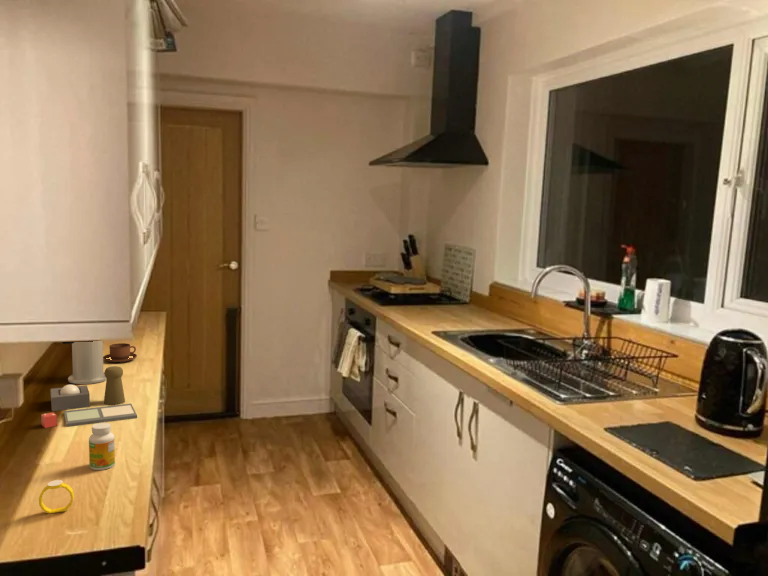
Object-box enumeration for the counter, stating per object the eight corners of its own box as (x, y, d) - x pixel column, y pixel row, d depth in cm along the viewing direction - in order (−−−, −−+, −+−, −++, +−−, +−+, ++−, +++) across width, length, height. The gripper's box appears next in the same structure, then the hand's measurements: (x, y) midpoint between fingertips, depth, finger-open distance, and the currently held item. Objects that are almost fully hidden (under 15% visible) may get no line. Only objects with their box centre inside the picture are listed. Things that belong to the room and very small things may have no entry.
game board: (64, 413, 183) (64, 410, 183) (131, 406, 192) (131, 403, 192) (66, 426, 173) (66, 423, 172) (137, 417, 181) (137, 414, 181)
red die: (41, 425, 173) (41, 414, 173) (53, 422, 175) (53, 411, 175) (45, 428, 171) (44, 416, 171) (57, 425, 173) (56, 414, 173)
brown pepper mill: (117, 406, 191) (116, 370, 190) (99, 404, 193) (98, 368, 191) (129, 400, 197) (128, 365, 196) (111, 398, 198) (110, 363, 197)
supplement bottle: (84, 469, 146) (83, 428, 144) (98, 460, 151) (97, 420, 150) (106, 471, 145) (105, 430, 143) (119, 462, 150) (118, 422, 149)
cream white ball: (59, 400, 193) (59, 383, 192) (79, 398, 195) (78, 381, 195) (60, 405, 188) (59, 388, 187) (80, 403, 191) (80, 386, 190)
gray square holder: (50, 401, 194) (50, 388, 193) (87, 397, 199) (86, 385, 198) (51, 411, 185) (51, 397, 185) (89, 406, 190) (89, 393, 189)
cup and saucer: (121, 356, 254) (121, 340, 254) (143, 359, 249) (143, 344, 248) (96, 362, 244) (95, 346, 243) (118, 366, 238) (118, 350, 238)
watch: (75, 506, 128) (74, 478, 127) (73, 512, 125) (72, 483, 125) (41, 510, 126) (40, 481, 125) (38, 516, 123) (37, 487, 123)
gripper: (51, 279, 192) (53, 338, 194) (52, 285, 179) (55, 349, 181) (78, 278, 196) (80, 337, 198) (82, 284, 183) (84, 347, 185)
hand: (68, 342), depth 190 cm, fingers closed
